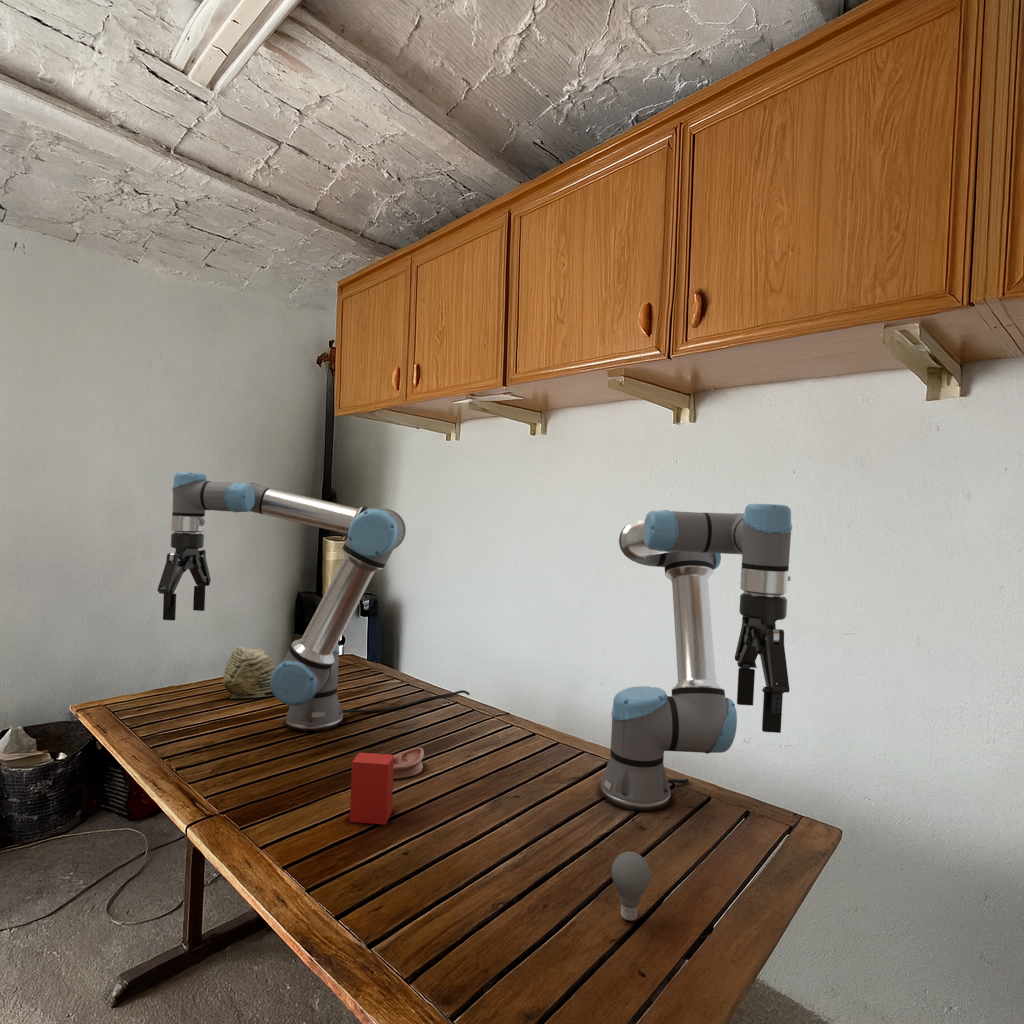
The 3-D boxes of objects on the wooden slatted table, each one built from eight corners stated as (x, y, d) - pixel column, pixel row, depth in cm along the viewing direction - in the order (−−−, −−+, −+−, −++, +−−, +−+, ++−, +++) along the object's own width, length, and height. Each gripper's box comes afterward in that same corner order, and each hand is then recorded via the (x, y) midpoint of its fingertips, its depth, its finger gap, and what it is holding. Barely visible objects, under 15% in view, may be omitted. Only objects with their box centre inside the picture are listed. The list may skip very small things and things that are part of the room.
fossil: (218, 695, 195) (220, 647, 195) (278, 685, 208) (279, 640, 207) (228, 703, 189) (230, 653, 188) (289, 692, 201) (290, 645, 201)
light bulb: (605, 905, 101) (608, 843, 101) (642, 905, 102) (645, 843, 102) (614, 931, 95) (617, 865, 95) (653, 930, 96) (656, 865, 96)
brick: (349, 822, 124) (352, 761, 124) (356, 810, 129) (359, 752, 128) (385, 824, 124) (388, 764, 123) (391, 812, 128) (394, 754, 128)
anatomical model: (356, 758, 144) (377, 740, 155) (356, 775, 144) (376, 756, 155) (412, 766, 141) (429, 746, 152) (411, 783, 141) (428, 763, 153)
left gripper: (174, 535, 150) (170, 625, 150) (226, 531, 175) (223, 607, 175) (143, 534, 150) (139, 623, 150) (199, 529, 175) (196, 606, 175)
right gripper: (817, 607, 96) (809, 746, 96) (761, 585, 120) (755, 696, 121) (766, 604, 96) (759, 743, 96) (721, 583, 121) (715, 693, 121)
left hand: (184, 615), depth 163 cm, fingers open, 13 cm apart
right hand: (757, 717), depth 109 cm, fingers open, 13 cm apart
